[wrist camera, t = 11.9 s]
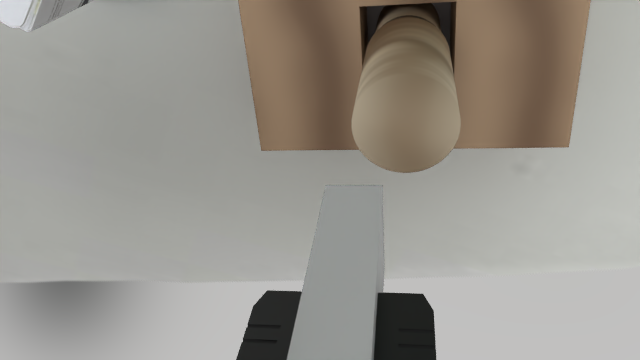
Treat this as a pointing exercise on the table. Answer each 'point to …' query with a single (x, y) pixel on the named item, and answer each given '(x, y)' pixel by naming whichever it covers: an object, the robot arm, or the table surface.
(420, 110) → the beech leg
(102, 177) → the table surface
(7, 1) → the ink box
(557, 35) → the seat board
